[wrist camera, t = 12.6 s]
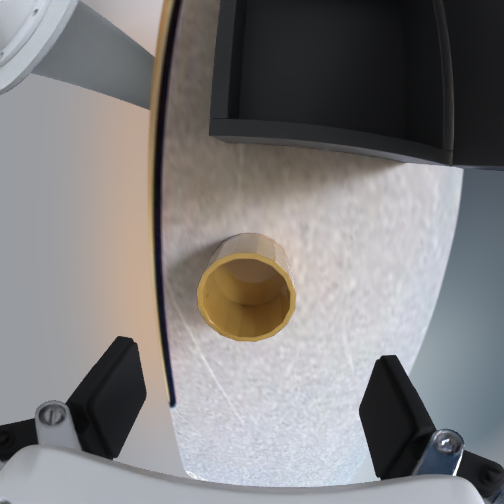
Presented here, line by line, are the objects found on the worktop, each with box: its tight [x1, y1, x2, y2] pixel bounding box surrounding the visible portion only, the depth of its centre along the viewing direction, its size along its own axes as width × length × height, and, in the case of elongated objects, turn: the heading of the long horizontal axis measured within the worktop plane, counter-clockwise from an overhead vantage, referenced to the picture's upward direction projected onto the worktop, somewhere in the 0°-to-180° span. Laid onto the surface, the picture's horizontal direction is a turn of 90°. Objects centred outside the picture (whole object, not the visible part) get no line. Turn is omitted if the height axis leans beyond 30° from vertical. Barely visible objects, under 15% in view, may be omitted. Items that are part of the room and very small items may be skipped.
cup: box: [197, 233, 296, 342], centre depth 21 cm, size 6×6×5 cm
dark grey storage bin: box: [209, 0, 454, 167], centre depth 15 cm, size 14×16×6 cm
